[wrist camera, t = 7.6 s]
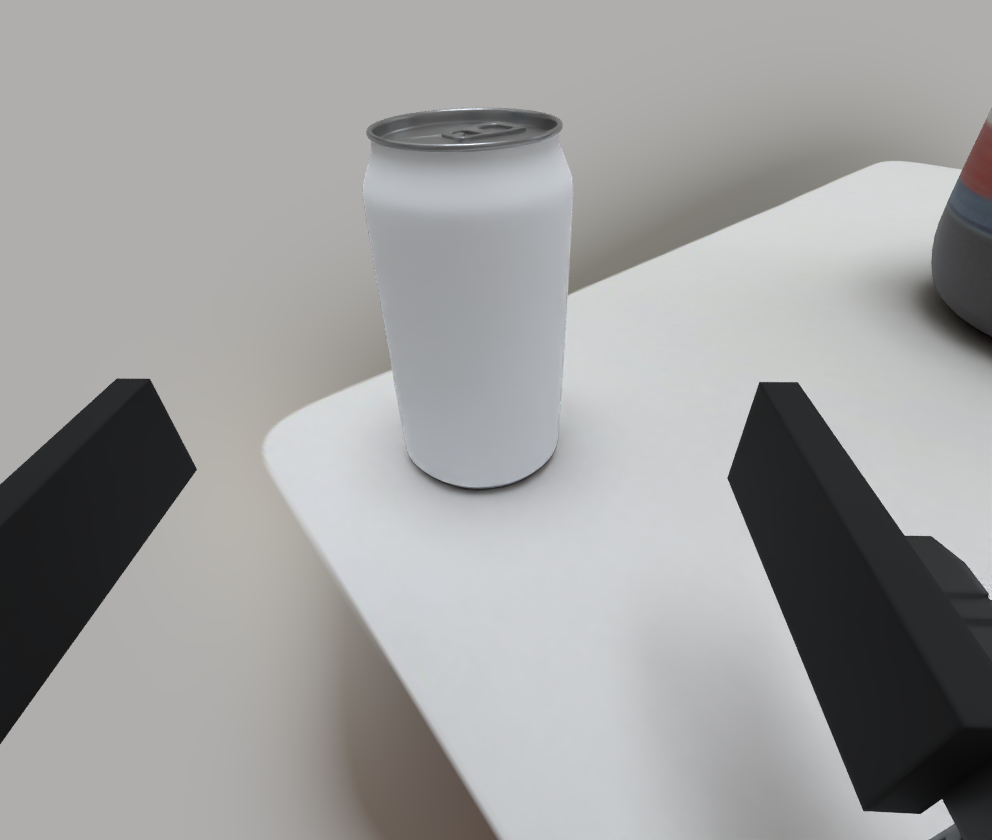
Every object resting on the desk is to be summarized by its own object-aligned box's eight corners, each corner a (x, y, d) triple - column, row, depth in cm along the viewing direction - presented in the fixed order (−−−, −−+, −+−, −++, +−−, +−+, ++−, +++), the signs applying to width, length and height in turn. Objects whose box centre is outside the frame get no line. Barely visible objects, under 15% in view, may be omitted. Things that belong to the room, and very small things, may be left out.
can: (377, 436, 23) (310, 125, 16) (491, 380, 26) (481, 99, 19) (469, 522, 19) (438, 161, 12) (590, 443, 22) (626, 120, 15)
